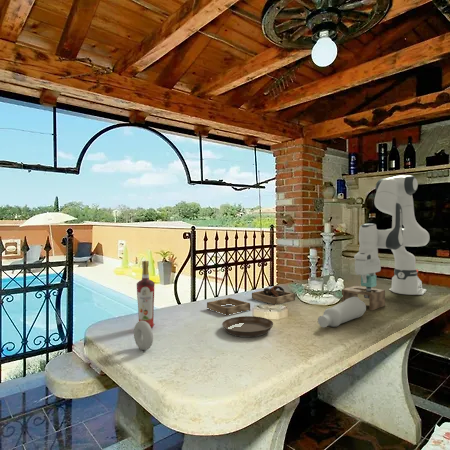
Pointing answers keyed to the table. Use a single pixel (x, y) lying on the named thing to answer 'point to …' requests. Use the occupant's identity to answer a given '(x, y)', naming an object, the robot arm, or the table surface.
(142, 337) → the donut
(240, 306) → the tray
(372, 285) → the teal stemmed block
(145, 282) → the liquor
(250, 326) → the plant saucer
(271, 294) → the pottery mug
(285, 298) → the tray
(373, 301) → the tan hollow wooden block
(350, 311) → the bottle
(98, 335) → the table surface
